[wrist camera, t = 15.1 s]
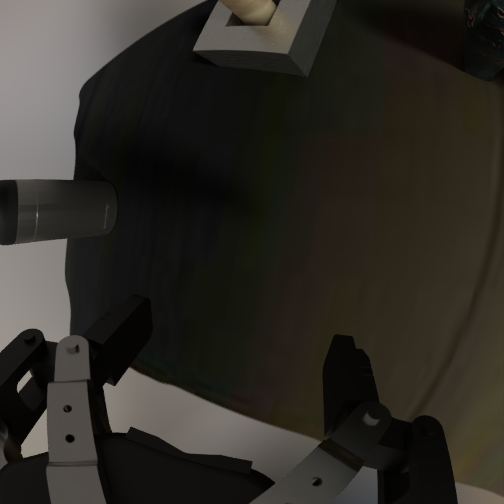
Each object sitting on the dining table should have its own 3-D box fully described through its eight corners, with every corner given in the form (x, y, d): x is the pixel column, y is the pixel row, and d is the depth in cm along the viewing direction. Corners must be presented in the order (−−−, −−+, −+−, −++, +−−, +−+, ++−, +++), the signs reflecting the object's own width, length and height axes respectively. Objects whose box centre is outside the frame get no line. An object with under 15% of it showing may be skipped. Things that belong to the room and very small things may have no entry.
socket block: (219, 66, 28) (192, 50, 24) (251, -1, 25) (231, -21, 20) (307, 77, 23) (287, 53, 19) (337, 0, 20) (322, -27, 15)
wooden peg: (256, 42, 25) (190, -11, 15) (267, 18, 24) (207, -37, 14) (285, 44, 24) (223, -19, 14) (296, 20, 23) (241, -45, 12)
